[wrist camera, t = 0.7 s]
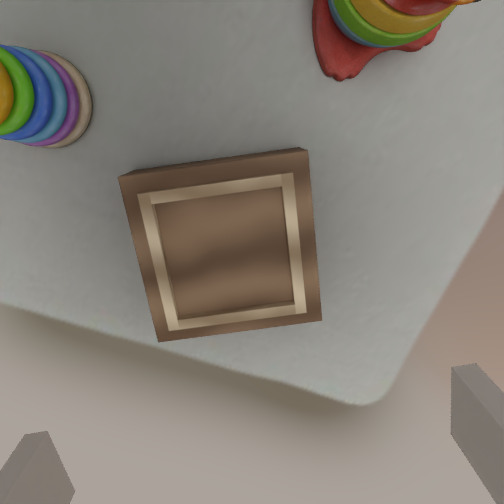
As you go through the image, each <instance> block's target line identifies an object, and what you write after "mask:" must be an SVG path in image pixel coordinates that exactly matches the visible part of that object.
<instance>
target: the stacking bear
mask: <svg viewBox="0 0 504 504" xmlns="http://www.w3.org/2000/svg"><path fill="white" fill-rule="evenodd" d="M478 1H481V0H314V4H313V21H312V26H313V38H314V44H315V49H316V53H317V56H318V60H319V62H320V65H321V67H322V69H323V71H324V73H325V74H326V75H327V76H329V77H331V76H333V77H334V78H335V79H336V80H337V81H343V80H344V79H345V78H354V77H355V76H357V75H358V74H359V72H360V71H361V70H362V69H363V67H364V66H365V65H366V64H367V62H368V61H370V60H371V59H372V58H373V57H374V56H376V55H378V54H379V53H382V52H384V51H387V50H394V49H397V50H403V51H408V52H414V51H418V50H420V49H421V48H422V47H423V46H426V45H428V44H430V43H431V42H432V41H433V40H434V38H435V36H436V34H437V31H438V30H439V29H440V27H441V23H442V21H443V20H444V19H445V18H446V17H447V16H448V15H449V14H450V13H451V12H452V11H453V10H454V8H455V7H456V6H457V5H463V4H468V3H472V2H478Z"/></svg>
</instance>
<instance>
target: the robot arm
mask: <svg viewBox="0 0 504 504" xmlns="http://www.w3.org/2000/svg"><path fill="white" fill-rule="evenodd" d="M451 435H452V436H453V438H454V440H455V441H456V443H457V444H458V446H459V447H460V449H461V450H462V452H463V453H464V455H465V456H466V458H467V459H468V461H469V463H470V464H471V466H472V467H473V468H474V470H475V472H476V473H477V475H478V476H479V478H480V479H481V481H482V482H483V484H484V485H485V487H486V488H487V490H488V492H489V493H490V494H491V496H492V498H493V499H494V500H495V502H496V504H504V393H503V391H502V390H501V389H500V388H499V387H498V386H497V385H496V384H495V383H494V382H493V381H492V380H491V379H490V378H489V377H488V376H487V374H486V373H485V372H484V371H483V370H482V369H481V368H480V367H479V366H478V365H477V364H476V363H475V364H468V365H462V366H456V367H452V373H451ZM74 493H75V490H74V487H73V485H72V483H71V481H70V479H69V477H68V474H67V472H66V470H65V468H64V466H63V464H62V462H61V460H60V457H59V455H58V453H57V451H56V448H55V446H54V444H53V442H52V440H51V438H50V435H49V434H48V432H47V431H44V432H38V433H32V434H26V435H24V436H23V438H22V439H21V441H20V442H19V444H18V445H17V447H16V449H15V450H14V451H13V453H12V454H11V456H10V457H9V459H8V460H7V462H6V463H5V465H4V466H3V468H2V469H1V470H0V504H70V502H71V500H72V497H73V495H74Z"/></svg>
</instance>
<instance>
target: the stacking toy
mask: <svg viewBox="0 0 504 504" xmlns="http://www.w3.org/2000/svg"><path fill="white" fill-rule="evenodd" d="M91 110H92V103H91V96H90V92H89V89H88V87H87V84H86V82H85V80H84V79H83V77H82V76H81V74H80V73H79V72H78V70H77V69H76V68H75V67H74V66H73V65H72V64H71V63H69V62H68V61H67V60H65V59H64V58H62V57H60V56H58V55H56V54H53V53H50V52H46V51H39V50H30V49H26V48H22V47H18V46H5V45H0V138H1V139H5V140H13V141H16V142H20V143H23V144H26V145H30V146H41V147H47V148H58V147H62V146H66V145H68V144H70V143H72V142H74V141H75V140H77V139H78V138H79V137H80V136H81V135H82V134H83V132H84V131H85V130H86V128H87V126H88V124H89V121H90V117H91Z"/></svg>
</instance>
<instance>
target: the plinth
mask: <svg viewBox="0 0 504 504" xmlns="http://www.w3.org/2000/svg"><path fill="white" fill-rule="evenodd" d="M118 180H119V184H120V188H121V193H122V197H123V201H124V205H125V209H126V213H127V217H128V221H129V225H130V229H131V233H132V237H133V241H134V245H135V250H136V254H137V258H138V262H139V266H140V270H141V274H142V278H143V282H144V286H145V290H146V294H147V298H148V302H149V306H150V311H151V315H152V319H153V323H154V327H155V331H156V335H157V339H158V342H164V341H172V340H179V339H187V338H194V337H202V336H209V335H217V334H225V333H232V332H240V331H247V330H255V329H262V328H270V327H277V326H285V325H292V324H300V323H307V322H315V321H322V313H321V302H320V290H319V278H318V266H317V254H316V242H315V230H314V218H313V206H312V194H311V182H310V170H309V158H308V150H305V149H302V148H300V147H297V148H290V149H283V150H276V151H268V152H261V153H254V154H247V155H240V156H233V157H226V158H218V159H211V160H204V161H197V162H190V163H183V164H176V165H168V166H161V167H154V168H147V169H140V170H133V171H131V172H129V173H126V174H124V175H122V176H120V177H118Z"/></svg>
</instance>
